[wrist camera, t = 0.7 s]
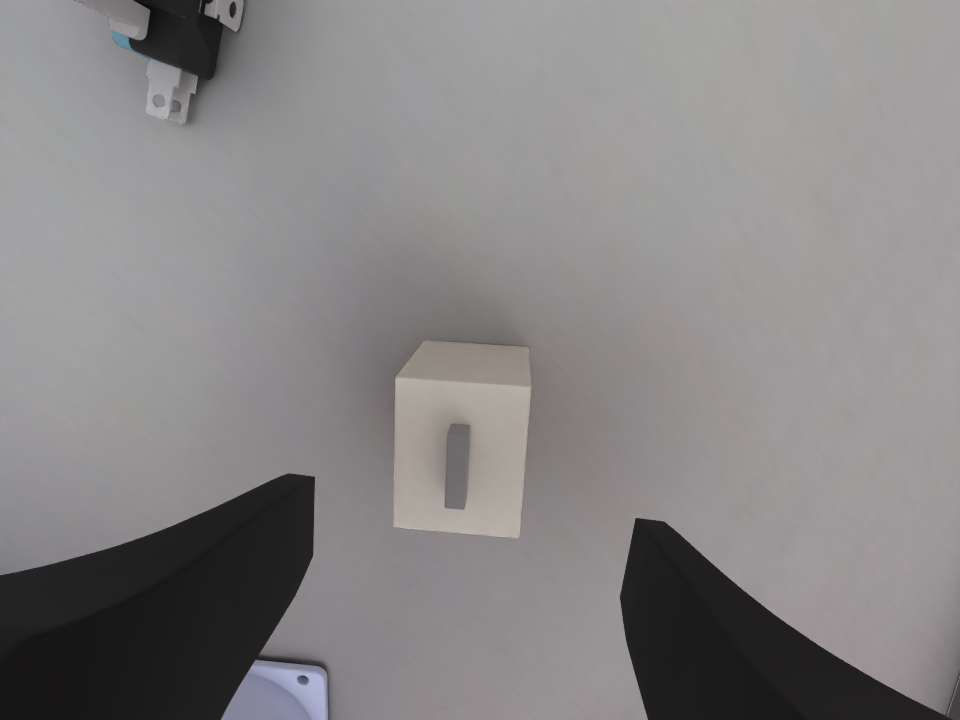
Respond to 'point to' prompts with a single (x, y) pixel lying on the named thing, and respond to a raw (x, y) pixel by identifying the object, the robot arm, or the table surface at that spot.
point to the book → (955, 704)
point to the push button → (171, 43)
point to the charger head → (461, 438)
